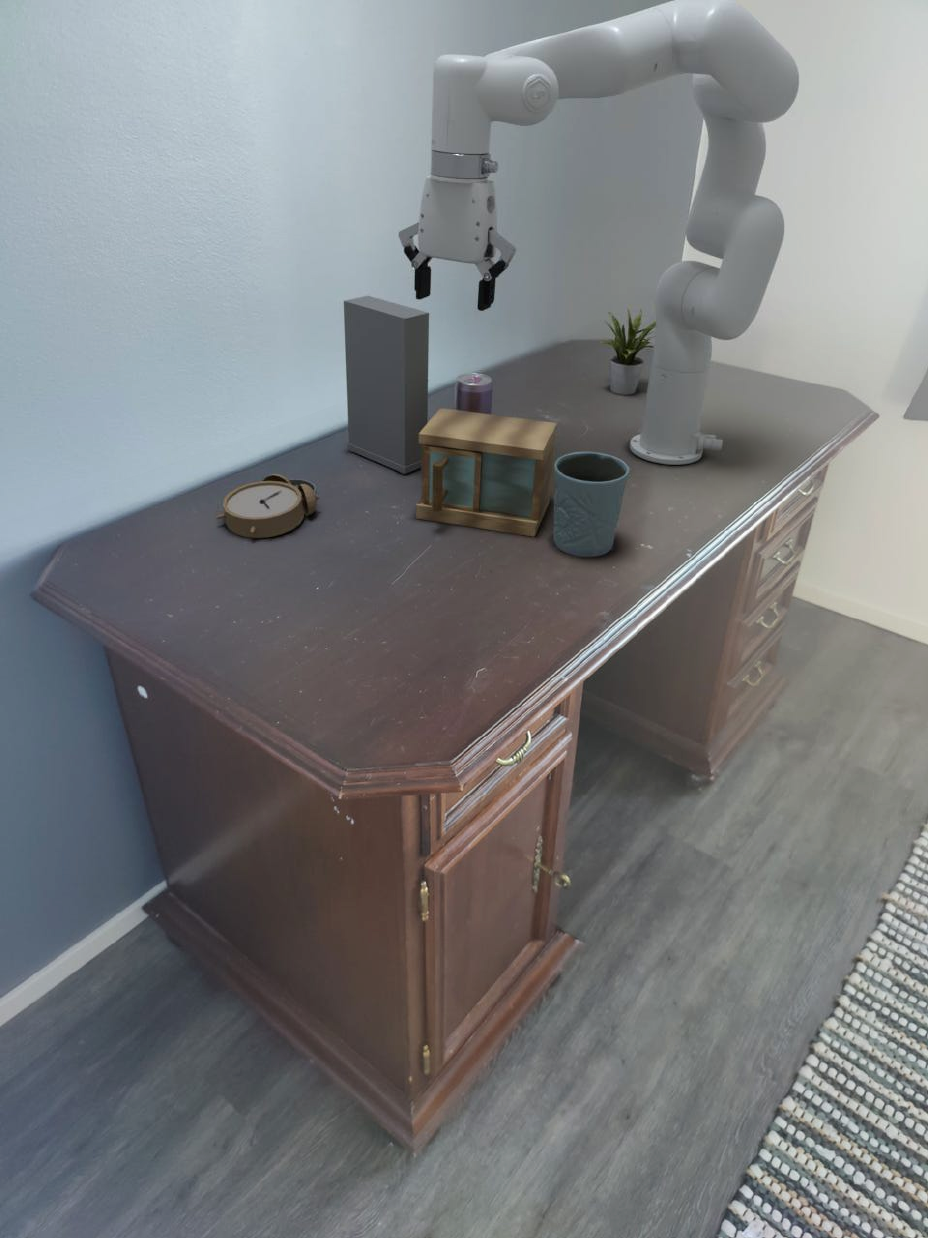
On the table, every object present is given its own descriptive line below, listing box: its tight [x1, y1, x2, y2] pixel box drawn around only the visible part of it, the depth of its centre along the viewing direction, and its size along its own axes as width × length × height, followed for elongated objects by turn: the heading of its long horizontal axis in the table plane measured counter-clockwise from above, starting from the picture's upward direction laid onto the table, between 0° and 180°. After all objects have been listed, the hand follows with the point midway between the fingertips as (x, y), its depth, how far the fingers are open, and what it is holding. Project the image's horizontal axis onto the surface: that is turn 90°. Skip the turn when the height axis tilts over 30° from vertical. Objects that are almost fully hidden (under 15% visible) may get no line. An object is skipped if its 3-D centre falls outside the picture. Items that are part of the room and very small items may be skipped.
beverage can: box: [453, 372, 494, 415], centre depth 145 cm, size 6×6×15 cm
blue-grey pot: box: [552, 451, 630, 558], centre depth 125 cm, size 10×10×12 cm
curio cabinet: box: [415, 407, 558, 538], centre depth 132 cm, size 18×12×13 cm, turn 75°
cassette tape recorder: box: [343, 295, 430, 475], centre depth 144 cm, size 14×6×25 cm, turn 48°
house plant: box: [599, 309, 656, 396], centre depth 179 cm, size 14×14×16 cm
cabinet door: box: [424, 444, 482, 513], centre depth 128 cm, size 8×5×9 cm, turn 75°
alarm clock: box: [216, 473, 321, 539], centre depth 131 cm, size 11×5×15 cm
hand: (453, 303), depth 125 cm, fingers open, 9 cm apart
